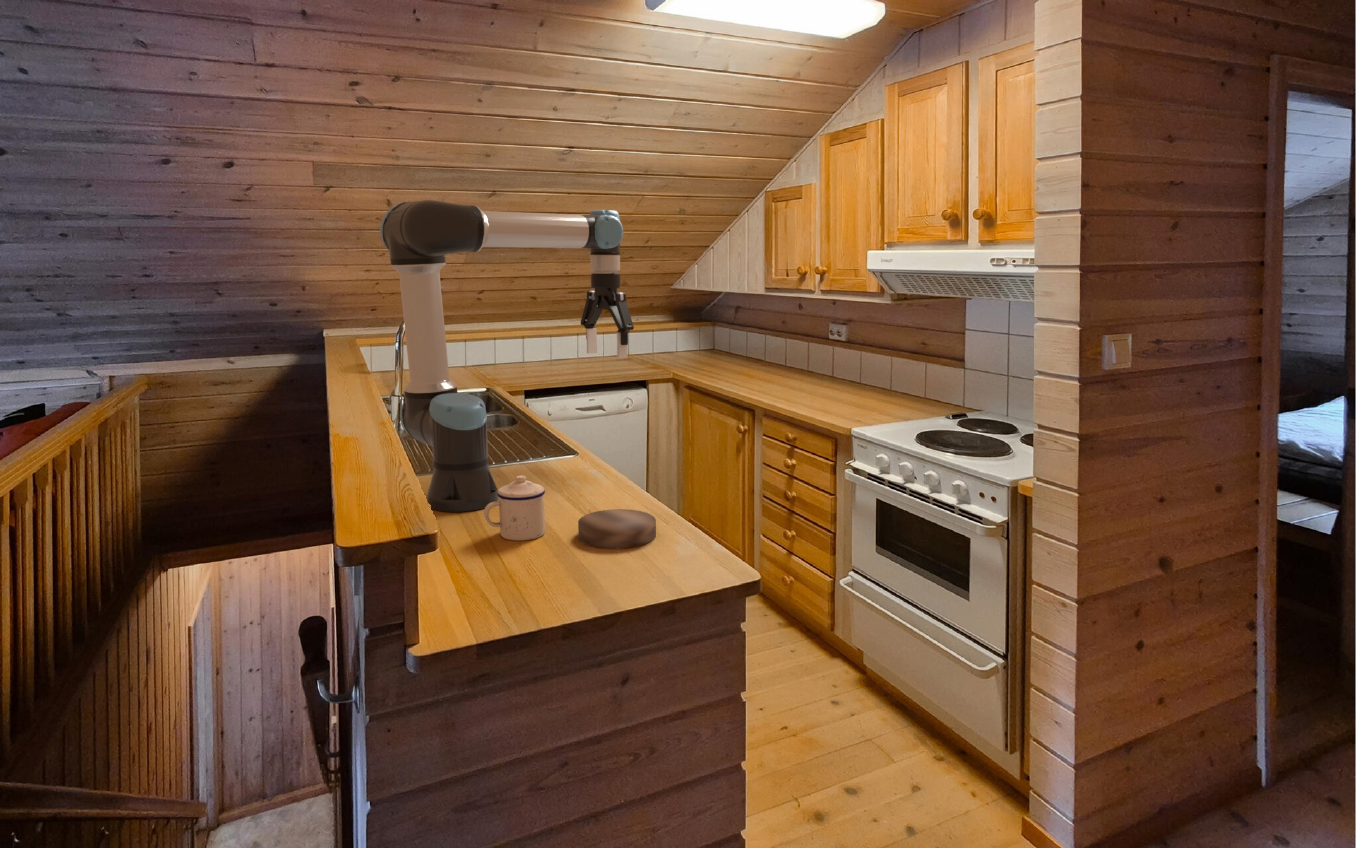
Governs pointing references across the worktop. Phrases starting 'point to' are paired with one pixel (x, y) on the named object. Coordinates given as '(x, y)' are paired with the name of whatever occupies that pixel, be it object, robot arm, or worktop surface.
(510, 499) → the teacup with lid
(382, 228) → the robot arm
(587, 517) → the walnut stand
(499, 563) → the worktop surface
